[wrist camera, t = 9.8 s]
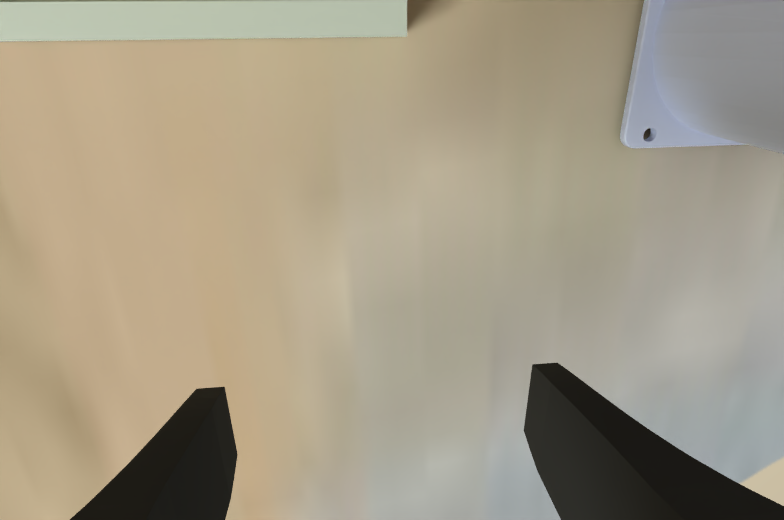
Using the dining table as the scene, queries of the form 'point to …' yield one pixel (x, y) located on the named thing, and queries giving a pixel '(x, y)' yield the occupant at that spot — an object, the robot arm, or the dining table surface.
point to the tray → (199, 19)
